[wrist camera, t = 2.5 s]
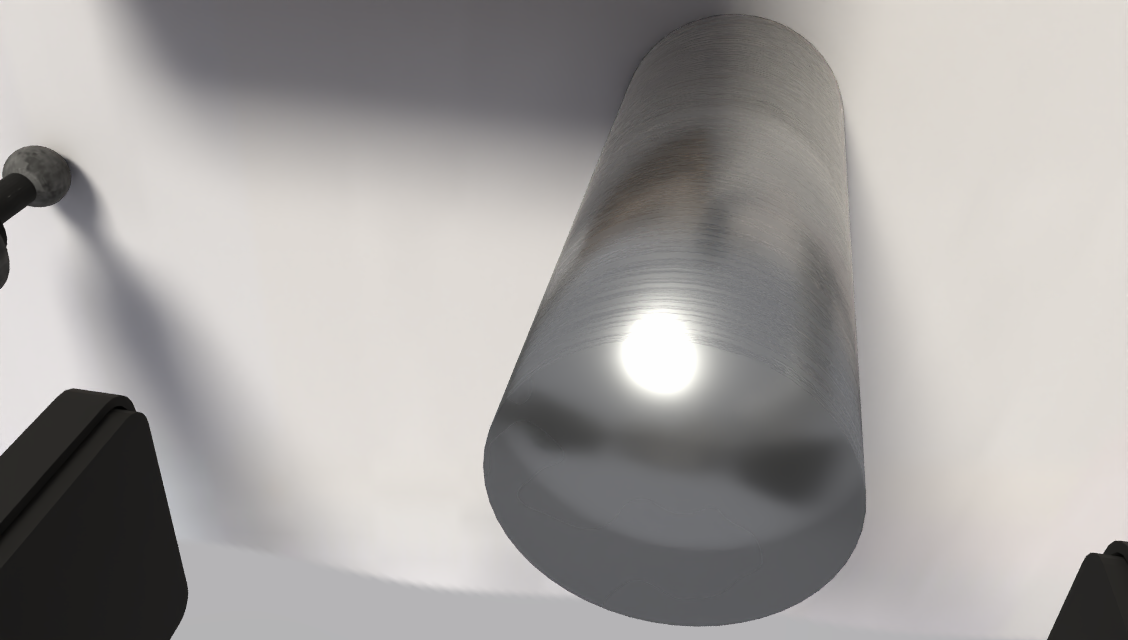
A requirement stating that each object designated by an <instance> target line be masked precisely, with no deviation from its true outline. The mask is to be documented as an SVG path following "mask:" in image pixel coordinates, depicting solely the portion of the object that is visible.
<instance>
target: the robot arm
mask: <svg viewBox="0 0 1128 640" xmlns="http://www.w3.org/2000/svg"><path fill="white" fill-rule="evenodd" d="M187 599H188V587H187V582H186V578H185V574H184V569H183V566H182V561H181V557H180V553H179V548H178V544H177V540H176V536H175V532H174V528H173V523H172V519H171V515H170V511H169V507H168V502H167V498H166V494H165V490H164V486H163V482H162V477H161V473H160V469H159V465H158V461H157V456H156V452H155V448H154V444H153V440H152V436H151V431H150V427H149V423H148V421H147V418H146V416H145V415H144V414H143V413H140V412H136V410H135V408H134V405H133V403H132V401H131V400H130V399H129V398H128V397H125V396H122V395H115V394H108V393H102V392H95V391H88V390H81V389H74V388H73V389H69V390H66V391H64V392H63V393H62V394H60V395H59V396H58V397H57V398H56V399H55V400H54V401H53V402H52V403H51V404H50V405H49V406H48V407H47V408H46V409H45V410H44V411H43V412H42V413H41V414H40V415H39V416H38V418H37V419H36V420H35V421H34V422H33V423H32V424H31V425H30V426H29V427H28V428H27V429H26V430H25V431H24V432H23V433H22V434H21V435H20V436H19V437H18V438H17V439H16V440H15V441H14V443H13V444H12V445H11V446H10V447H9V448H8V449H7V450H6V451H5V452H4V453H3V454H2V455H1V456H0V640H170V638H171V636H172V635H173V634H174V632H175V630H176V629H177V627H178V625H179V624H180V621H181V620H182V618H183V615H184V612H185V609H186V605H187ZM1047 640H1128V542H1125V541H1114V542H1112V543H1111V544H1110V545H1108V547H1107V549H1106V550H1105V552H1104V553H1103V554H1098V553H1090V554H1089V555H1087V556H1086V558H1085V559H1084V561H1083V563H1082V565H1081V567H1080V569H1079V571H1078V574H1077V576H1076V578H1075V580H1074V582H1073V584H1072V587H1071V589H1070V591H1069V593H1068V595H1067V597H1066V600H1065V602H1064V604H1063V606H1062V608H1061V611H1060V613H1059V615H1058V617H1057V619H1056V621H1055V624H1054V626H1053V628H1052V630H1051V632H1050V635H1049V637H1048V639H1047Z"/></svg>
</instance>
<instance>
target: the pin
mask: <svg viewBox="0 0 1128 640" xmlns="http://www.w3.org/2000/svg"><path fill="white" fill-rule="evenodd" d="M483 469H484V479H485V486H486V490H487V494H488V498H489V502H490V504H491V506H492V509H493V511H494V513H495V516H496V518H497V520H498V522H499V523H500V525H501V527H502V528H503V530H504V532H505V533H506V535H507V536H508V538H509V539H510V540H511V541H512V543H513V544H514V545H515V547H516V548H517V549H518V550H519V552H520V553H521V554H522V555H523V556H524V557H525V558H526V559H527V560H528V561H529V562H530V563H531V564H532V565H533V566H535V567H536V568H537V569H538V570H539V571H541V572H542V573H543V574H544V575H546V576H547V577H548V578H549V579H551V580H552V581H554V582H555V583H557V584H558V585H560V586H561V587H563V588H564V589H566V590H567V591H569V592H571V593H573V594H575V595H577V596H578V597H580V598H582V599H584V600H586V601H588V602H590V603H593V604H595V605H598V606H600V607H602V608H605V609H607V610H610V611H613V612H616V613H619V614H622V615H625V616H628V617H632V618H636V619H641V620H645V621H650V622H655V623H663V624H669V625H680V626H720V625H728V624H735V623H742V622H747V621H751V620H755V619H760V618H763V617H766V616H769V615H772V614H775V613H778V612H781V611H783V610H785V609H788V608H790V607H792V606H794V605H796V604H798V603H800V602H802V601H803V600H805V599H807V598H808V597H810V596H811V595H813V594H814V593H816V592H817V591H819V590H820V589H821V588H822V587H823V586H825V585H826V584H827V583H828V582H829V581H830V580H832V579H833V578H834V577H835V575H836V574H837V573H838V572H839V571H840V570H841V568H842V567H843V566H844V565H845V564H846V562H847V560H848V559H849V557H850V556H851V554H852V552H853V551H854V549H855V547H856V545H857V542H858V539H859V537H860V534H861V532H862V528H863V523H864V518H865V512H866V489H865V472H864V455H863V438H862V421H861V404H860V387H859V370H858V353H857V336H856V319H855V302H854V285H853V268H852V251H851V234H850V217H849V200H848V183H847V166H846V149H845V132H844V115H843V104H842V98H841V93H840V90H839V86H838V83H837V80H836V78H835V76H834V74H833V72H832V70H831V68H830V66H829V65H828V63H827V62H826V60H825V59H824V57H823V56H822V55H821V54H820V53H819V52H818V50H817V49H816V48H815V47H814V46H813V45H812V44H811V43H810V42H808V41H807V40H806V39H805V38H804V37H802V36H801V35H799V34H798V33H796V32H795V31H793V30H791V29H790V28H788V27H786V26H784V25H781V24H779V23H777V22H775V21H771V20H768V19H765V18H761V17H756V16H750V15H734V14H729V15H719V16H713V17H708V18H704V19H700V20H697V21H694V22H692V23H689V24H686V25H685V26H683V27H681V28H679V29H677V30H675V31H673V32H672V33H670V34H669V35H668V36H666V37H665V38H663V39H662V40H661V41H660V42H659V43H658V44H656V45H655V46H654V47H653V48H652V49H651V50H650V51H649V53H648V54H647V55H646V56H645V57H644V59H643V60H642V61H641V63H640V65H639V66H638V68H637V69H636V71H635V73H634V75H633V77H632V80H631V82H630V84H629V87H628V89H627V92H626V94H625V97H624V99H623V101H622V104H621V106H620V109H619V111H618V114H617V116H616V119H615V121H614V124H613V126H612V129H611V131H610V134H609V136H608V138H607V141H606V143H605V146H604V148H603V151H602V153H601V156H600V158H599V161H598V163H597V166H596V168H595V171H594V173H593V175H592V178H591V180H590V183H589V185H588V188H587V190H586V193H585V195H584V198H583V200H582V203H581V205H580V208H579V210H578V212H577V215H576V217H575V220H574V222H573V225H572V227H571V230H570V232H569V235H568V237H567V240H566V242H565V245H564V247H563V249H562V252H561V254H560V257H559V259H558V262H557V264H556V267H555V269H554V272H553V274H552V277H551V279H550V282H549V284H548V286H547V289H546V291H545V294H544V296H543V299H542V301H541V304H540V306H539V309H538V311H537V314H536V316H535V319H534V321H533V323H532V326H531V328H530V331H529V333H528V336H527V338H526V341H525V343H524V346H523V348H522V351H521V353H520V356H519V358H518V360H517V363H516V365H515V368H514V370H513V373H512V375H511V378H510V380H509V383H508V385H507V388H506V390H505V393H504V395H503V397H502V400H501V402H500V405H499V407H498V410H497V412H496V415H495V417H494V420H493V422H492V425H491V427H490V430H489V433H488V437H487V441H486V445H485V449H484V462H483Z"/></svg>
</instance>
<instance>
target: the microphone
mask: <svg viewBox="0 0 1128 640" xmlns="http://www.w3.org/2000/svg"><path fill="white" fill-rule="evenodd" d="M2 177H3V179H1V180H0V289H1V288H2V287H3V285H4V284H5V282H6V281H7V278H8V274H9V256H8V252H7V248H6V246H7V236H6V231H5V228H4V226H3V223H4V222H6V221H7V220H9V219H10V218H11V217H13V216H14V215H15V214H17V213H18V212H19V211H21V210H22V209H24V208H25V207H26V206H32V207H46V206H50V205H53V204H55V203H57V202H58V201H60V200H61V199H62V198H63V197H64V196H65V195H66V193H67V192H68V190H69V187H70V183H71V174H70V170H69V167H68V165H67V163H66V161H65V160H64V159H63V158H62V157H61V156H60V155H59V154H58V153H57V152H55V151H53V150H51V149H49V148H46V147H42V146H27V147H23V148H21V149H19V150H17V151H15V152H14V153H12V154H11V155H10V156H9V157H8V159H7V160H6V162H5V164H4V167H3V172H2Z"/></svg>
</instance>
